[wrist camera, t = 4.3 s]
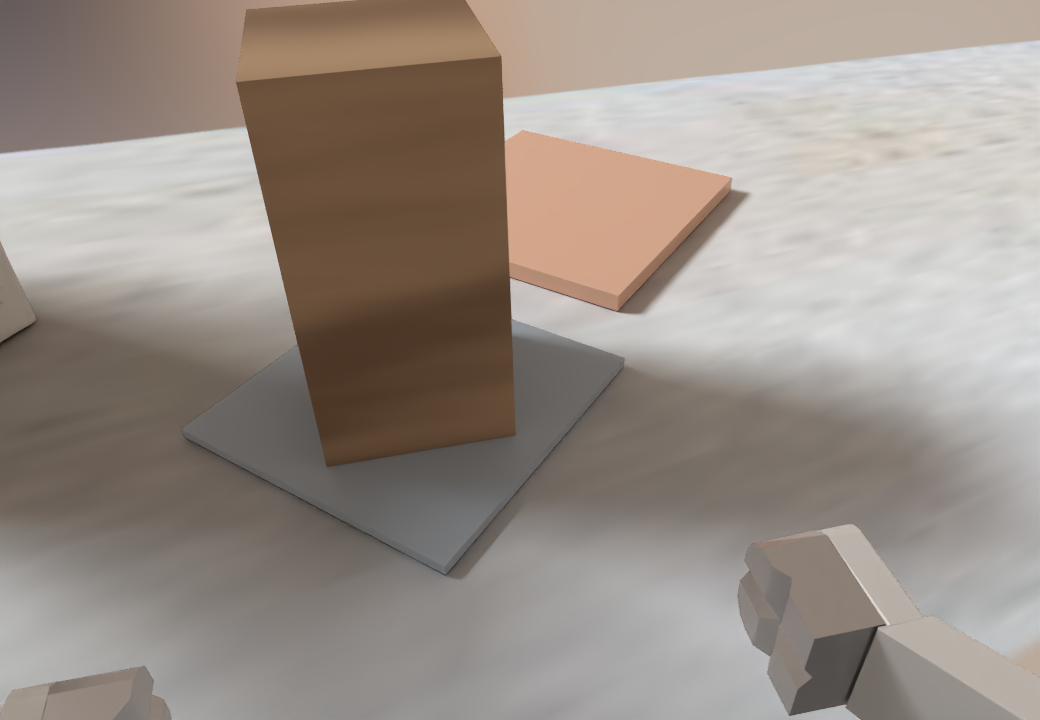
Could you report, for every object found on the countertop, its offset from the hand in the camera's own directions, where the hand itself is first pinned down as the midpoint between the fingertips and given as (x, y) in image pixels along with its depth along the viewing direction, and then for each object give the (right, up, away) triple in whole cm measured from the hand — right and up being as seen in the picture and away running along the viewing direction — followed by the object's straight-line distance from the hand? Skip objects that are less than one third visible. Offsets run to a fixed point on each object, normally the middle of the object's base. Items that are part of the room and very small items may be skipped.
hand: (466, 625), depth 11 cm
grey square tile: (-2, +2, +13) cm, 13 cm away
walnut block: (-2, +3, +13) cm, 13 cm away
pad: (+2, +9, +22) cm, 24 cm away
